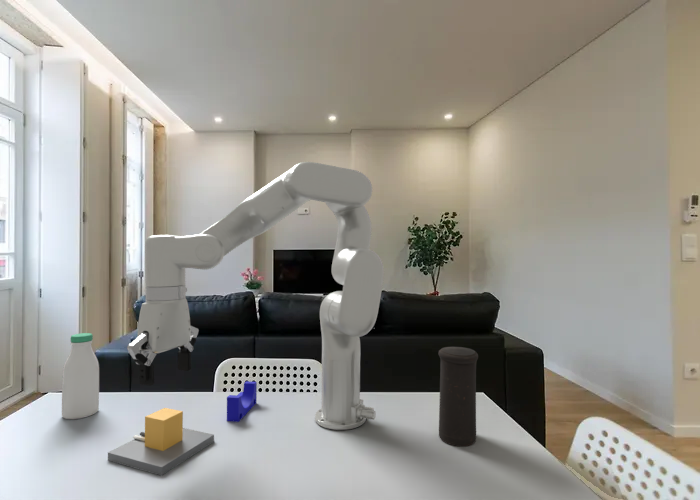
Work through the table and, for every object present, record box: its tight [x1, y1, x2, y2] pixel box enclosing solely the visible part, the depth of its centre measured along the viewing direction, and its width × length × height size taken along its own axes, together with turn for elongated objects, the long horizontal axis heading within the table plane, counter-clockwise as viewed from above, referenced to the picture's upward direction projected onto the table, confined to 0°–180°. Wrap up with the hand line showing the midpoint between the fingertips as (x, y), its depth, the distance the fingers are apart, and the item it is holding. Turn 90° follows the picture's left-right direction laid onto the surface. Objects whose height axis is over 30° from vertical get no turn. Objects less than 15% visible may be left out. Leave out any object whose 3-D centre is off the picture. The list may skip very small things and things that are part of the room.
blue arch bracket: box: [226, 380, 258, 423], centre depth 101 cm, size 12×4×6 cm, turn 173°
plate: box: [107, 427, 215, 476], centre depth 81 cm, size 14×14×6 cm
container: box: [438, 346, 479, 447], centre depth 88 cm, size 9×9×20 cm
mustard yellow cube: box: [144, 407, 184, 451], centre depth 81 cm, size 5×5×6 cm
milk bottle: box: [61, 332, 100, 420], centre depth 99 cm, size 8×8×20 cm
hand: (166, 376), depth 81 cm, fingers open, 9 cm apart
